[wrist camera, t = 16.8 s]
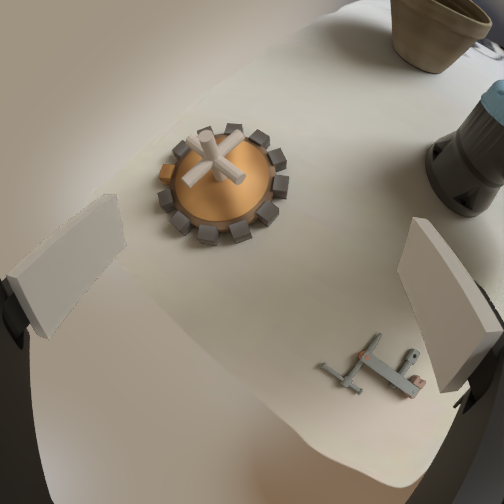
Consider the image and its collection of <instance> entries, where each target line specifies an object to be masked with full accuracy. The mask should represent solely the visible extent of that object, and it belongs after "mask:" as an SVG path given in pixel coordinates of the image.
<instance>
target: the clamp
mask: <svg viewBox="0 0 504 504" xmlns="http://www.w3.org/2000/svg"><path fill="white" fill-rule="evenodd" d="M381 336H382V334H381V333H379V334H378V336H377V337H376V339H375V340H373V342H372V343H371V344H370V346H369V347H368V349H367V350H366V351H361V352H360V353H359V355H358V358H359V359H360V360H359V361H358V363H357V364H356V365H355V367H354V368H353V369H352V370H351V372H350V373H349V374H348V376H346V375H345V377H344V378H343V377H342V376H340V375H339V374H337V373H336V372H335V371H333V370H332V369H330V368H329V367H328V366H326V363H323V364H322V365H321V369H323V368H324V369H325V370H327V371H328V372H329V373H331V374H332V375H334V376H335V377H336V378H338V379H339V380H341V382H340V384H341V385H342V386H344V387H345V388H347V387H348V386H349V387H351V388H352V389H354V390H355V391H357V394H358V395H360V394H361V393H362V391H363V389H359V388H357V387H356V386H355V385H353V384H352V383H351V382H352V381H353V380H351V379H352V378H353V377H354V375H355V374H356V373H357V371H358V370H359V369H360V367H361V366H362V365H363V363H365V364H366V365H368V366H369V367H370V368H372V369H373V370H374V371H375V372H376V373H378V374H379V375H381V376H382V377H383V378H385V379H386V380H388V381H389V382H390V384H389V386H390V387H391V388H393V389H396V387H397V388H399V389H400V390H402V391H403V394H404V395H406V396H407V397H409V398H411V399H413V398H415V397H416V395H417V394H418V392H419V391H420V389H422V388H423V387H424V385H425V384H426V381H425V380H422V379H420V376H417V375H413V376H412V377H411V379H410V380H409V381H408V380H407V379H405V378H404V377H403V376H404V375H405V373H406V372H407V370H408V369H409V367H410V366H411V364H412V365H414V363H415V362H416V360H417V359H418V357H419V355H420V352H419V351H418V350H416V349H411V351H410V352H409V354H408V355H407V357H406V358H405V360H407V361H406V362H405V364H404V365H403V367H402V368H401V370H400V371H399V372H398V373H397V372H396V371H394V370H393V369H392V368H390V367H389V366H388V365H386V364H385V363H384V362H382V361H381V360H379V359H378V358H377V357H375V356H374V355H373V354H371V352H372V351H373V349H374V348H375V347H376V345H377V344H378V341H379V339H380V338H381ZM413 355H414V356H413Z"/></svg>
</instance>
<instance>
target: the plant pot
mask: <svg viewBox="0 0 504 504" xmlns="http://www.w3.org/2000/svg"><path fill="white" fill-rule="evenodd" d="M390 2H391V16H392V39H393V46H394V49H395V50H396V52H397V53H398V54H399V55H400V56H401V57H402V58H403V59H404V60H406V61H407V62H408V63H410V64H412V65H413V66H415V67H417V68H419V69H421V70H424V71H427V72H430V73H442V72H443V71H445V70H446V69H447V68H448V67H449V66H451V65H452V64H453V63H454V62H455V61H456V60H457V59H458V58H459V57H460V56H461V55H463V54H464V53H465V52H466V51H467V50H468V49H469V48H470V47H471V46H472V45H473V44H474V43H475V42H476V41H477V40H478V39H484V38H485V37H486V35H487V33H488V32H489V30H490V28H491V26H492V21H491V20H490V18H489V17H488V15H486V13H485V12H484V11H483V10H482V9H481V8H480V7H478V6H477V5H476V4H474V3H473V2H472V1H471V0H390Z"/></svg>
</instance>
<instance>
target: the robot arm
mask: <svg viewBox="0 0 504 504" xmlns="http://www.w3.org/2000/svg"><path fill="white" fill-rule="evenodd" d="M426 171H427V175H428V178H429V181H430V183H431V185H432V187H433V189H434V191H435V192H436V194H437V195H438V197H439V198H440V199H441V201H442V202H443V203H444V204H445V205H446V206H447V207H449V208H450V209H451V210H452V211H454V212H456V213H457V214H460V215H462V216H466V217H474V216H477V215H479V214H480V213H482V212H483V211H485V210H486V209H487V208H488V207H489V206H490V204H491V203H492V201H493V199H494V198H495V196H496V194H497V193H498V191H499V189H500V187H501V186H503V185H504V80H498V81H496V82H495V83H493V85H492V86H491V87H490V88H489V89H488V91H487V92H485V93H483V95H482V96H481V100H480V101H479V103H478V104H477V105H476V107H475V108H474V109H473V111H472V112H471V113H470V115H469V116H468V117H467V119H466V120H465V121H464V122H463V124H462V125H461V126H460V127H459V129H458V130H457V131H455V132H453V133H450V134H448V135H446V136H444V137H442V138H440V139H438V140H437V141H436V142H435V143H434V144H433V145H432V147H431V148H430V149H429V151H428V153H427V156H426ZM126 246H127V245H126V241H125V236H124V231H123V226H122V221H121V216H120V210H119V205H118V199H117V194H104V195H102V196H101V197H100V198H98V199H97V200H95V201H94V202H93V203H91V204H90V205H88V206H87V207H86V208H84V209H83V210H82V211H80V212H79V213H78V214H76V215H75V216H74V217H72V218H71V219H70V220H68V221H67V222H66V223H65V224H63V225H62V226H61V227H60V228H58V229H57V230H56V231H55V232H53V233H52V234H51V235H50V236H49V237H47V238H46V239H45V240H44V241H43V242H41V243H40V244H39V245H38V246H37V247H35V248H34V249H33V250H32V251H31V252H30V253H29V254H28V255H26V256H25V257H24V258H23V259H22V260H21V261H20V262H19V263H18V264H17V265H15V266H14V267H13V268H12V269H11V270H10V271H9V272H8V273H7V274H6V278H5V279H4V280H3V281H1V279H0V504H54V503H53V501H52V499H51V497H50V494H49V491H48V487H47V484H46V480H45V476H44V472H43V468H42V464H41V459H40V455H39V450H38V445H37V439H36V433H35V427H34V418H33V410H32V400H31V388H30V362H29V361H30V359H29V348H30V343H29V342H30V335H29V332H28V330H27V329H26V328H27V326H28V325H29V324H31V326H32V327H33V329H34V331H35V332H36V334H37V335H39V336H41V337H43V338H46V339H48V340H50V339H51V337H52V336H53V334H54V333H55V332H56V330H57V329H58V328H59V326H60V325H61V324H62V322H63V321H64V320H65V318H66V317H67V316H68V314H69V313H70V312H71V311H72V309H73V308H74V307H75V305H76V304H77V303H78V302H79V300H80V299H81V298H82V297H83V295H84V294H85V293H86V292H87V291H88V289H89V288H90V287H91V286H92V284H93V283H94V282H95V281H96V280H97V279H98V277H99V276H100V275H101V274H102V273H103V272H104V270H105V269H106V268H107V267H108V266H109V265H110V263H111V262H112V261H113V260H114V259H115V258H116V257H117V256H118V254H119V253H120V252H121V251H122V250H123V249H124V248H125V247H126ZM397 273H398V275H399V277H400V280H401V282H402V284H403V287H404V289H405V291H406V294H407V296H408V299H409V301H410V304H411V306H412V309H413V312H414V314H415V317H416V319H417V322H418V325H419V328H420V330H421V333H422V336H423V339H424V342H425V345H426V348H427V351H428V354H429V357H430V360H431V363H432V367H433V370H434V373H435V377H436V380H437V384H438V387H439V391H440V393H446V392H453V391H458V390H459V389H460V388H461V387H462V385H463V384H464V383H465V382H466V381H467V380H468V382H469V385H470V388H469V389H468V391H467V392H466V393H465V394H464V395H463V396H462V397H461V398H460V399H459V400H458V401H457V402H456V403H455V405H454V406H453V408H456V407H457V406H458V405H459V404H461V405H460V407H459V410H458V412H457V414H456V417H455V419H454V421H453V423H452V425H451V427H450V430H449V432H448V434H447V436H446V438H445V440H444V442H443V443H442V445H441V447H440V449H439V451H438V453H437V455H436V456H435V458H434V460H433V462H432V463H431V465H430V467H429V468H428V470H427V472H426V473H425V475H424V477H423V478H422V480H421V481H420V483H419V484H418V486H417V487H416V489H415V490H414V492H413V493H412V495H411V496H410V498H409V499H408V500H407V502H406V503H405V504H504V322H503V320H502V318H501V317H500V315H499V313H498V311H497V310H496V309H495V306H494V305H493V303H492V302H491V301H490V298H489V297H488V295H487V294H486V292H485V291H484V289H483V288H482V287H481V286H480V285H479V284H477V283H476V282H475V281H474V280H473V279H472V277H471V276H470V275H469V273H468V272H467V270H466V269H465V267H464V266H463V264H462V263H461V262H460V260H459V259H458V258H457V256H456V255H455V253H454V252H453V251H452V249H451V248H450V247H449V245H448V244H447V243H446V242H445V240H444V239H443V238H442V236H441V235H440V234H439V233H438V231H437V230H436V229H435V228H434V226H433V225H432V224H431V223H430V222H429V220H428V219H424V218H417V217H412V221H411V225H410V229H409V232H408V236H407V239H406V242H405V246H404V249H403V252H402V255H401V259H400V262H399V265H398V268H397Z"/></svg>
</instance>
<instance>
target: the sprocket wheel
mask: <svg viewBox="0 0 504 504" xmlns="http://www.w3.org/2000/svg"><path fill="white" fill-rule="evenodd" d="M236 129H238V130H240V131H241V132H242V133H243V128H242V124H230V123H227V126H226V129H225V134H221V135H215V136H214V138H215V141H216V144H217V145H218V144H219V143H221V142H222V141H223V140H224V139H225V138H226V137H228V136H229V135H230V134H231V133H232V132H234V131H235V130H236ZM204 130H210V131H212V128H211V126H209V127H206V128H203V129H200V130H198V131H197V134H198V135H199V134H200V132H202V131H204ZM212 133H213V131H212ZM213 135H214V134H213ZM269 146H270V137H269V136H268V135H266V134H265V133H263V132H261V131H260V130H258V129H257V130H256V131H255V132H254V133H253V134H252V135H251V136H250V137H249V138H247V137H245V139H244V140H243V141H242V142H241V143H240V144H239V145H237V146H236V147H235V148H234V149H233V150H232V151H231V152H229V153H228V154H227V155H226V156H225V157H224V158H226V159H227V160H228V161H229V162H231V163H232V164H233V165H235V166H236V167H237V168H239V169H240V170H241V171H242V172H244V173H245V174H246V178H245V179H244V181H243V182H242V183H241V184H240V185H236V184H235V183H233V182H232V181H231V180H230V179H229V178H226V179H225V180H224V181H222V182H219V181H216V179H215V177H214V175H213V173H212V170H209V171H208V172H207V173H206V174H205V175H204V176H203V177H202V178H201V179H200V180H199V181H198V182H197V183H196V184H195V185H193V186H192V187H191V188H189V187H187V186H186V185H185V184H184V182H183V181H182V180H181V178H182V177H183V176H184V175H185V174H186V173H187V172H188V171H189V170H190V169H191V168H192V167H194V166H195V165H196V164H197V163H198V162H199V161H200V160H201V159H202V157H201V156H200V155H198V154H197V153H196V152H195V151H193V150H192V149H191V148H189V147H188V146H187V145H186V144H185V141H183V140H182V141H181V142H180V143H179V144H178V145H177V146H176V147H175V148H174V149H173V150H172V151H173V153H174V155H175V156H176V158H177V159H179V160H178V161H177V163H176V165H171V164H163V165H162V168H161V171H160V174H159V179H160V180H161V181H162V182H163V184H166V185H170V188H169V189H166V190H164V191H162V192H159V193H158V198H159V202H160V206H161V208H162V209H163V210H164V211H165V212H166V213H167V212H169V211H172V210H174V209H177V210H178V211H177V212H176V213H175V214H174V216H173V217H172V218H171V219H170V220H169V221H170V222H171V223H172V224H173V225H174V226H175V227H176V228H177V229H178V230H179V231H181V232H182V233H183V234H184V235H185V236H186V234H187V233H188V232H189V231H190V230H191V229H192V228H193V226H195V227H197V228H198V229H199V230H198V234H197V239H198V240H199V241H200V242H201V243H204V244H210V245H216V246H217V244H218V239H219V234H220V233H227V232H231V233H232V236H233V239H234V240H235V242H236V244H237V243H239V242H242V241H245V240H248V239H250V238H252V235H251V232H250V230H249V227H248V225H250V224H252V223H253V222H255V221H256V220H257V219H259V220H260V221H261V222H263V223H264V224H265V225H266V226H268V227H269V225H270V224H271V223H272V222H273V221H274V220H275V218H276V217H277V216H278V215H279V208H278V207H277V206H275V205H274V204H273V203H271V202H272V199H273V197H278V198H285V199H286V197H287V191H288V184H289V176H282V175H276V172H278V171H281V170H284V169H286V161H287V160H286V158H285V156H284V154H283V152H282V150H281V148H278V149H275V150H272V151H269V152H267V151H266V149H267V148H268V147H269Z"/></svg>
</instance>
